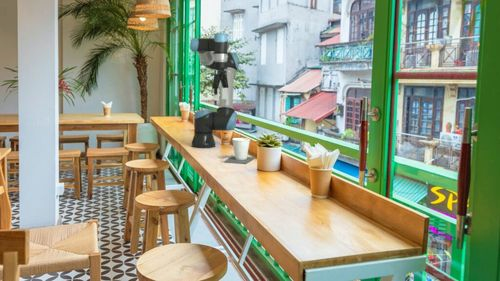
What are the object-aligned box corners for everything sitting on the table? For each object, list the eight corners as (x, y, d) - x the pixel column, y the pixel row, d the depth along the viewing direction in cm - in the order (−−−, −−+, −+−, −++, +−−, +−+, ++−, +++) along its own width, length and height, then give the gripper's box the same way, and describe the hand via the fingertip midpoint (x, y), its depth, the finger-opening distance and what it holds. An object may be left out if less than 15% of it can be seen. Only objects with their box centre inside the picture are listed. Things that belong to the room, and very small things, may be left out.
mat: (234, 156, 256) (234, 156, 256) (255, 158, 253) (255, 157, 253) (223, 162, 239) (223, 161, 239) (245, 164, 236) (245, 163, 236)
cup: (251, 158, 250) (251, 138, 249) (249, 161, 240) (249, 140, 239) (233, 157, 251) (233, 137, 249) (230, 160, 241) (230, 140, 240)
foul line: (231, 156, 258) (231, 155, 257) (234, 156, 257) (234, 155, 257) (220, 161, 240) (220, 160, 240) (223, 162, 240) (223, 160, 240)
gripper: (219, 61, 243) (219, 101, 247) (233, 62, 267) (233, 98, 270) (206, 61, 245) (206, 100, 249) (221, 62, 269) (221, 98, 272)
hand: (220, 99), depth 259 cm, fingers open, 13 cm apart
